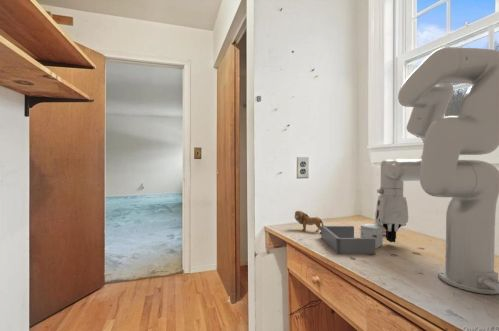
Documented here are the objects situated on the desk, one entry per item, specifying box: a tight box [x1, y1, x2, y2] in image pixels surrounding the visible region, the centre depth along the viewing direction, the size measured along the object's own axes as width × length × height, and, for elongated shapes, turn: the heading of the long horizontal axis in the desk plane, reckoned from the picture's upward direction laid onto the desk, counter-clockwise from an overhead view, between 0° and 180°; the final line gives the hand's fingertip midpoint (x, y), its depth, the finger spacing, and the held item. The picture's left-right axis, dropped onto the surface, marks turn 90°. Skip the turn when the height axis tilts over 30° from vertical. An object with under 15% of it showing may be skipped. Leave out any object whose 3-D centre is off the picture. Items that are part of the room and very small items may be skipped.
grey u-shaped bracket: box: [320, 225, 376, 255], centre depth 95 cm, size 18×13×5 cm
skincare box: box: [359, 222, 384, 249], centre depth 96 cm, size 6×6×7 cm
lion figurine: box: [294, 210, 325, 235], centre depth 114 cm, size 15×5×9 cm, turn 68°
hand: (390, 241), depth 96 cm, fingers closed
